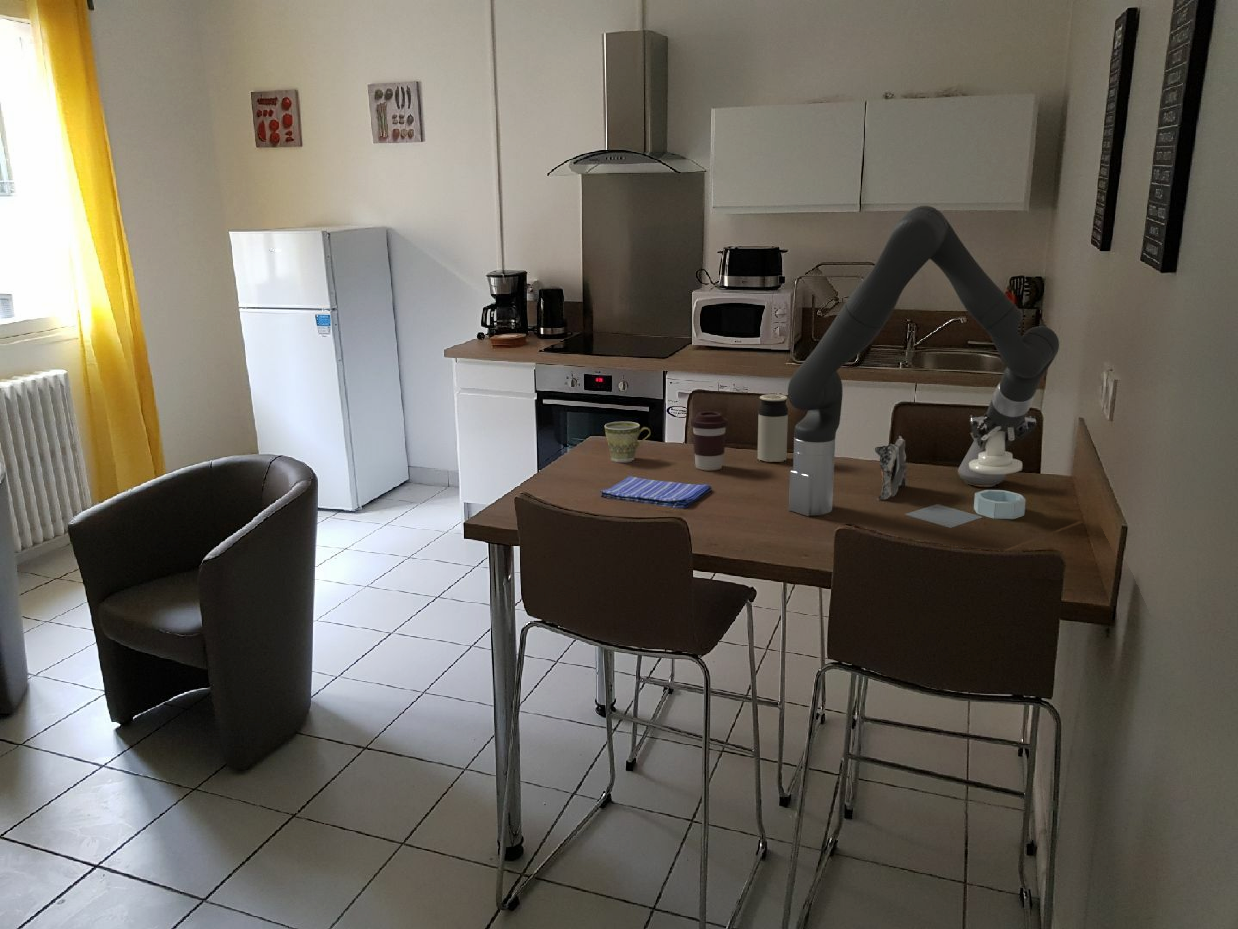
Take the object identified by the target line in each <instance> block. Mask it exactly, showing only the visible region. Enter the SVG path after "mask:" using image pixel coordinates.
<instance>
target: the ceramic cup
mask: <svg viewBox="0 0 1238 929" xmlns="http://www.w3.org/2000/svg"><path fill="white" fill-rule="evenodd" d="M640 427H641V425H640V424H639V423H638V422H633V421H613V422H608V423H606V424H605V425H604V432H605V437H606V441H607V444H608V450H609V455H610V461H611V462H615V463H629V462H633V461H632V460H634V461H635V457H636V451H637V449H638V447H639V446H640V445H641V444H642V443H643V442H644V441H646V439H648V438H649V437H650V436H651V433H652V432H651V429H650V428H649V427H648V426H647V427H646V426H643V427H641V428H640ZM644 430H648V432H649V433H648V435H647V436H645V437H644V438H642V439H641V441H640V442H638V438H639V437H640V434H641V433H642V432H643V431H644Z"/></svg>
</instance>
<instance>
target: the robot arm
mask: <svg viewBox="0 0 1238 929" xmlns="http://www.w3.org/2000/svg"><path fill="white" fill-rule="evenodd" d="M929 260H931V261H932V262H933V263H934V264H935V265H936V266H937V267H938V268H939V269H940V270H941V271H942V272H943V274H944V275H945V276H946V277H947V279H948V281H949V283H950V284H951V286H952V287H953V289H954V291H955V293H956V294H957V296H958V298H959V300H960V302H961V304H962V306H963V307H964V308H965V310H966V311H967V313H968V314H969V315H970V316H971V317H972V318H973V319H974V321H975V322H977V323H978V324H979V325H980V327H981V328H982V329H984V331H985V332H986V333H987V334H988V335H989V337H990V339H991V341H992V343H993V345H994V346H995V348H996V351H997V352H998V354H999V356H1000V358H1001V359H1002V361H1003V364H1005V366H1006V368H1005V370H1004V372H1003V374H1002V376H1001V378H1000V381H999V383H998V384H997V387H996V388H995V389H994V392H993V394H992V397H991V400H990V403H989V405H988V408H987V411H986V412H985V413H984V414H983V415H982V416H978V417H977V415H976V414H970V415H969V422H970V428H971V433H973V437H972V439H973V438H978V439H977V442H978V446H980V448H984V446H985V444H986V442H987V438H988V437H989V436H993V435H994V434H995V433H996V432H997V431H1003V432H1005V450H1007V448H1008V447H1010V446H1011V445H1012V443H1013V441H1014V440H1015V439H1018V440H1024V439H1025V437H1027V436H1028V435H1029V434H1030V433H1031V432H1032V431H1034V430H1035V429H1036V427H1037V420H1036V416H1035V415H1030V416H1027V414H1028V412H1029V410H1030V407H1031V406H1032V404H1033V402H1034V399H1035V394H1036V393H1037V391H1038V388H1039V386H1040V382H1041V380H1042V378H1043V376H1044V375H1045V373H1046V372H1047V370H1048V369H1049V367H1050V366H1051V364H1052V363H1053V361H1054V359H1055V358H1056V356H1057V355H1058V352H1059V350H1060V341H1059V337H1058V336H1057V333H1056V332H1055V331H1054V330H1052V329H1051V328H1049V327H1048V326H1041V325H1039V326H1038V325H1037V326H1034V327H1031V328H1029V329H1028V330H1026V331H1025V332H1024V333H1023V334H1022V335H1021V334H1020V332H1019V328H1020V327H1019V326H1020V324H1021V322H1022V320H1023V312H1022V311H1021V310H1020V309H1019V307H1018V306H1017V305H1016V304H1015V303H1014V302H1013V301H1012V300H1011V299H1010V298H1009V297H1008V296H1007V294H1006V293H1004V291H1002V290H1001V288H1000V287H999V286H998V285H997V284H996V283H995V281H993V280H992V278H990V276H989V275H988V274H987V273H986V271H985V270H984V269H983V268H982V267H981V266H980V264H979V263H978V262H977V261H976V260H975V259H974V257H973V255H972V254H971V253H970V251H969V250H968V249H967V247H966V246H965V245H964V243H963V242H962V240H961V239H960V237H959V236H958V234H957V233H956V231H955V230H954V228H953V227H952V225H951V223H950V222H949V221H948V219H947V218H946V217H945V215H944V214H943V213H942V212H941V211H940V210H939V209H937V208H935V207H933V206H930V205H920V206H916V207H914V208H912V209H911V210H910V211H908V212H907V213H906V214H904V216H903V217H902V218H901V219H899V221H897V223H896V225H894V228H893V230H892V231H891V233H890V235H889V238H888V239H887V241H886V244H885V246H884V247H883V249H882V251H881V253H880V255H879V257H878V259H877V261H876V262H875V264H874V266H873V267H872V269H871V270H870V271H869V272H868V274H867V275H866V276H865V277H864V278H863V279H862V281H861V282H860V283H859V284H858V285H857V286H856V288H855V289H854V290H853V291H852V293H850V296H848V298H847V299H846V301H845V302H844V304H843V306H842V307H841V309H840V310H839V311H838V313H837V314H836V316H835V319H833V321H832V323H831V324H830V325H829V327H828V329H827V330H826V332H824V334H823V336H822V338H821V339H820V340H819V342H818V343H817V345H816V347H815V348H814V349H813V350H812V352H811V353H810V354H809V356H807V358H806V359H805V360H804V361H803V362H802V364H801V365H800V366H799V367H798V368H797V369H796V370H795V371H794V373H793V374H792V376H791V378H790V380H789V383H788V387H787V399H788V401H789V403H790V405H791V406H792V407H793V408H795V409H797V410H799V411H807V413H806V414H805V416H804V417H803V419H801V420H800V421H799V422H798V423H796V424H795V427H794V432H793V460H792V461H793V462H792V464H793V465H792V470H790V471H789V486H788V487H789V490H788V511H791V512H794V513H797V514H799V515H803V516H805V517H810V516H823V515H825V514H828V513H831V512H832V511H833V499H834V498H833V496H834V495H833V494H834V493H833V492H834V479H835V478H834V476H835V475H834V474H835V472H834V471H835V451H836V435H837V431H838V429H839V427H840V423H841V414H842V413H841V412H842V403H843V393H844V392H843V388H844V387H843V382H842V381H843V380H842V379H841V378H842V377H841V376H840V374H839V372H838V371H839V369H840V368H841V367H843V366H844V365H845V364H847V363H848V362H850V360H852V359H853V358H855V357H856V356H857V355H858V354H860V353H861V352H862V351H863V350H865V349H866V348H867V347H868V346H870V345H871V343H872V342H873V341H874V340H875V339H876V338H877V336H878V334H880V332H881V330H882V329H883V328H884V326H885V325H886V323H887V322H888V320H889V319H890V317H891V315H892V313H893V311H894V310H895V307H896V305H897V303H898V301H899V299H900V296H901V294H902V292H903V291H904V289H905V288H906V286H907V285H908V284H909V282H910V281H911V280H912V279H913V278H914V277H915V275H917V273H918V272H919V271H920V270H921V269H922V268H923V267H924V265H925V264H926V263H927V262H929ZM982 424H984V425H983V426H981V425H982ZM980 427H981V428H980Z"/></svg>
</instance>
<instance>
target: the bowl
mask: <svg viewBox="0 0 1238 929" xmlns="http://www.w3.org/2000/svg"><path fill="white" fill-rule="evenodd" d="M1026 500H1027V499H1025V497H1024V496H1023V495H1022V494H1020V493H1016V492H1012V491H1008V490H1003V489H1002V490H1001V489H984V490H981V491H977V492H975V493H974V503H973V509H974V511H975V512H976V515H979V516H982V517H987V518H991V519H997V520H998V519H999V520H1000V519H1001V520H1015V519H1018V518H1020V517H1021V518H1022V517H1023V516H1025V513H1026V512H1025V511H1026V502H1027V501H1026Z"/></svg>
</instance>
